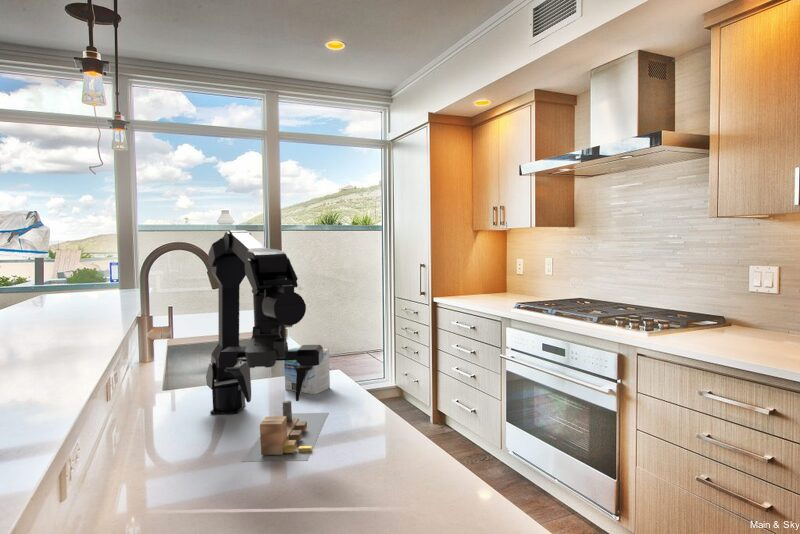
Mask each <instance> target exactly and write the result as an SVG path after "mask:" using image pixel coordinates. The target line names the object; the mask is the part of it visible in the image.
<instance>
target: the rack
mask: <svg viewBox="0 0 800 534" xmlns="http://www.w3.org/2000/svg"><path fill="white" fill-rule="evenodd" d="M292 407H293V406H292V400H284V401H282V414H283V416H287V438H286V439H285V441H284V443H283V444H282V445H261V455H283V453H294V451H295V449H296V447H297V445H296V442H300V440H301V438H302V432H305V430H306V429H307V421H299V418H292V413H293V412H292V411H293V410H292V409H293V408H292Z"/></svg>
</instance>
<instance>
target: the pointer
mask: <svg viewBox="0 0 800 534" xmlns="http://www.w3.org/2000/svg"><path fill="white" fill-rule="evenodd" d="M311 451H312V452H313V449H312V446H299V448H298V452H311ZM312 452H311V453H312Z"/></svg>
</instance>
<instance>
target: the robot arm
mask: <svg viewBox="0 0 800 534" xmlns="http://www.w3.org/2000/svg"><path fill="white" fill-rule="evenodd" d="M207 259H208V260H207V261H208V262H207V263H208V265H209V267H210V272H211V274H212V275H213V277H214V278H215V280H216V281H217V284H218V285H217V286H218V289H217V290H218V292H217V295H218V343H217V345H216V346H215V348H214V349H213V351H212V353H211V356H210V363H209V364H208V368H207V371H206V375H205V379H206V386H207V387H209V389H210V390H212V391H211V393H212V395H211V396H212V409H211V410H210V412H209V413H210V414H211V415H216V414H217V415H218V414H219V415H221V414H238V413H239V412H240V411H241V410H242V409H243V408H244V407H245V406H246V402H247V403H250V402H251V400H252V379H251V369H254V368H256V367H257V368H260V367H261V368H262V367H264V368H272V367H274V366H275V365H276V362H277V361H278V362H279V361H284V360H297V362H298V363H299V365H298V366H297V367H296V373H297V378H296V391H295V401H296V402H299V401H300V398H301V395H302V393H303V392H302V389H303V386H304V382H305V379H306V376H307V374H308V372H309V370H312V369H313V368H314V366H316V365H319V364H320V363H321V361H322V360H323V359H324V353H323V349H324V347H323V346H322V345H321V344H301V345H300V346H301V347H300V348H299V349H298V350H289V347H288V345H289V344H288V341H287V340H288V339H287V327H288V326H294V325H297V324H298V323H300V322H301V321H302V320H303V318H304V317H305V314H306V311H307V306H306V303H305V300H304V298H303V297H302V296H301V295H300V294H299V293H297V292H295V288H298V286H299V285H298V276H297V274H296V272H295V270H294V268H293V265H292V263H291V260H290V258H289V257H288V256H287V254H286V252H285V251H283V250H280V249H276V248H268V247H265V246H264V245H263V244H262V243H261V242H259V241H258V240H257V239H256V238H254V237H253V235H252V233H251V232H250V231H248V230H229V231H225V233H224V235H223V236H222V237H221V238H219V239H217V240H216V241H214V242H213V243H211V246H210V248H209V251H208V255H207ZM245 277H246V278H247V280H248V282H249V285H250V287H251V292H252V300H253V301H252V302H253V325H254V326H252V336H251V338H250V340H249V341H248V344H247V345H246V346H245V345H244V346H241V345H240V286H241V284H242V282H243V280H244V278H245Z"/></svg>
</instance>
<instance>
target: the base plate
mask: <svg viewBox="0 0 800 534" xmlns="http://www.w3.org/2000/svg"><path fill="white" fill-rule="evenodd" d="M329 415H330V412H298V413H297V412H292V418H299V421H307V429H306V430H305V432H302V438H301V440H300V442H296V445H297V447H296V449H295V451H294V453H283V455H261V442H260V437H259V438H258V439H257V440H256V441H255V443H254V444H253V446H252V447H251V448H250V449H249V451H248V452H247V454H246V455H245V456H244V458H243V459H242V460H241V462H242V463H243V462H244V463H247V462H248V463H249V462H250V463H252V462H307V461H308V460H309V459H310V456H311V454H312V452H313V449H314V447H315V445H316V443H317V441H318V438H319V435H320V434H321V431H322V429H323V428H324V424H325V422H326V420H327V418H328V417H329ZM275 416H283V413H276V415H275ZM299 446H312V451H311V452H298V448H299Z"/></svg>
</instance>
